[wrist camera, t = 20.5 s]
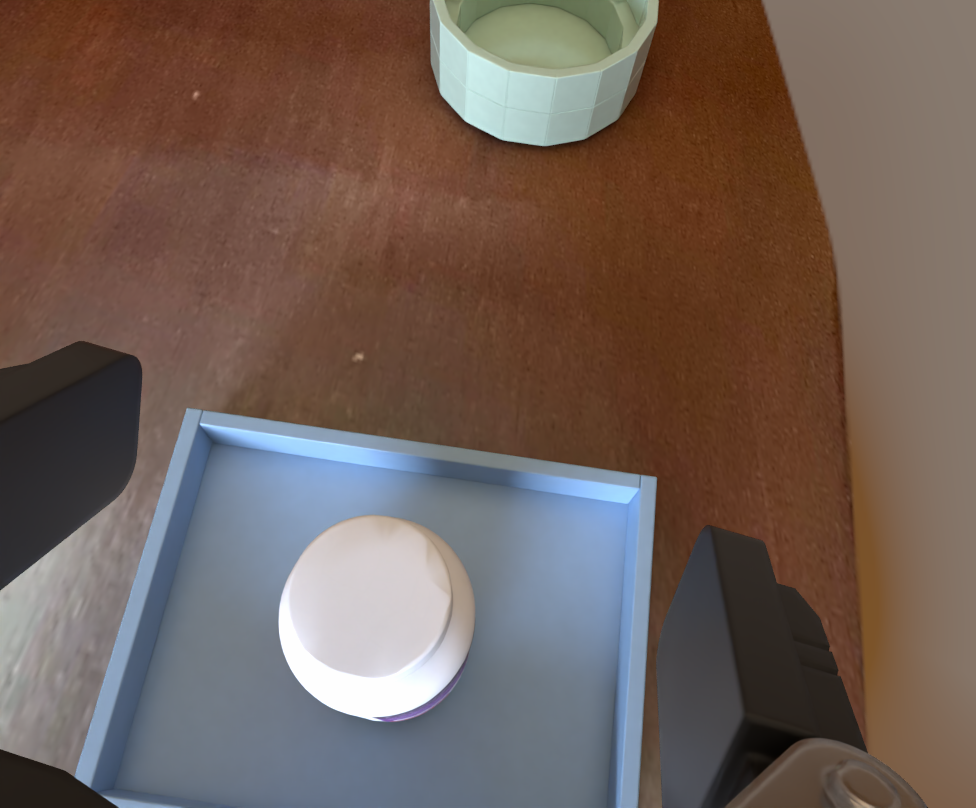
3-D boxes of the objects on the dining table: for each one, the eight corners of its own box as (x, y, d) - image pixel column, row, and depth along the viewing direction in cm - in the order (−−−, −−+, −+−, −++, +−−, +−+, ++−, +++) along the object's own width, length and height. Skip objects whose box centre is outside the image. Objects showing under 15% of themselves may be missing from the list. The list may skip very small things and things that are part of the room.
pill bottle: (480, 576, 29) (497, 505, 20) (455, 734, 27) (462, 733, 18) (333, 551, 29) (286, 470, 20) (298, 708, 27) (227, 693, 18)
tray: (641, 495, 31) (657, 476, 29) (616, 882, 26) (633, 896, 24) (205, 430, 31) (186, 406, 29) (95, 804, 26) (62, 811, 24)
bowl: (642, 8, 41) (664, -73, 37) (628, 163, 38) (652, 92, 33) (449, -21, 41) (450, -105, 37) (416, 132, 38) (413, 57, 33)
